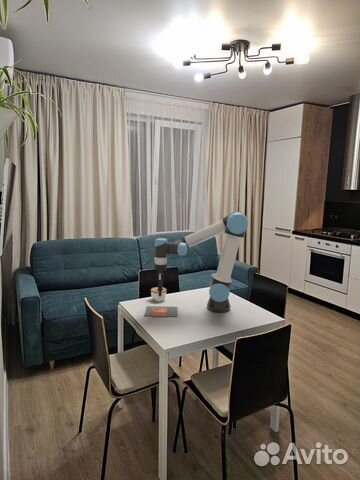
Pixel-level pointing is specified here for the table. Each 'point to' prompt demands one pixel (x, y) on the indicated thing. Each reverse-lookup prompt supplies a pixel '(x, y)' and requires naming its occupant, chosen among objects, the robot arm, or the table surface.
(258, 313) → the table surface
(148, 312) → the mat
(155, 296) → the lidded jar
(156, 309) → the deck
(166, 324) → the table surface
